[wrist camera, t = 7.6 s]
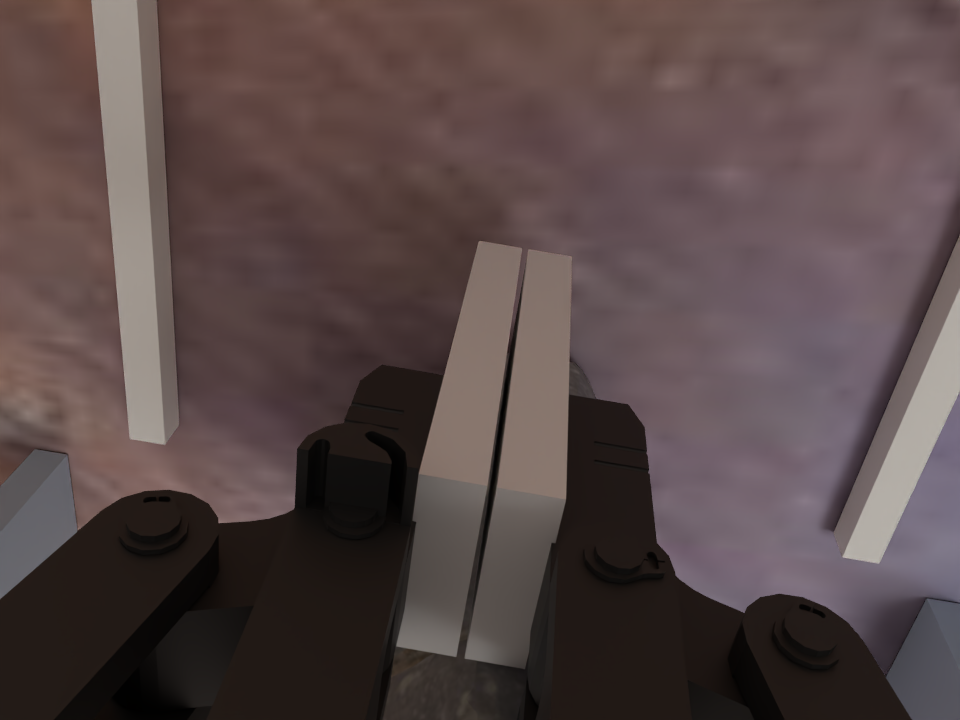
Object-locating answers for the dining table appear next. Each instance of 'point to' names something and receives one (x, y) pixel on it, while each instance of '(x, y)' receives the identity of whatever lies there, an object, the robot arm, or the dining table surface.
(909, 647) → the bin
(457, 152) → the dining table surface
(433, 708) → the stone
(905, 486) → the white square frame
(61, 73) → the dining table surface
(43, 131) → the dining table surface
